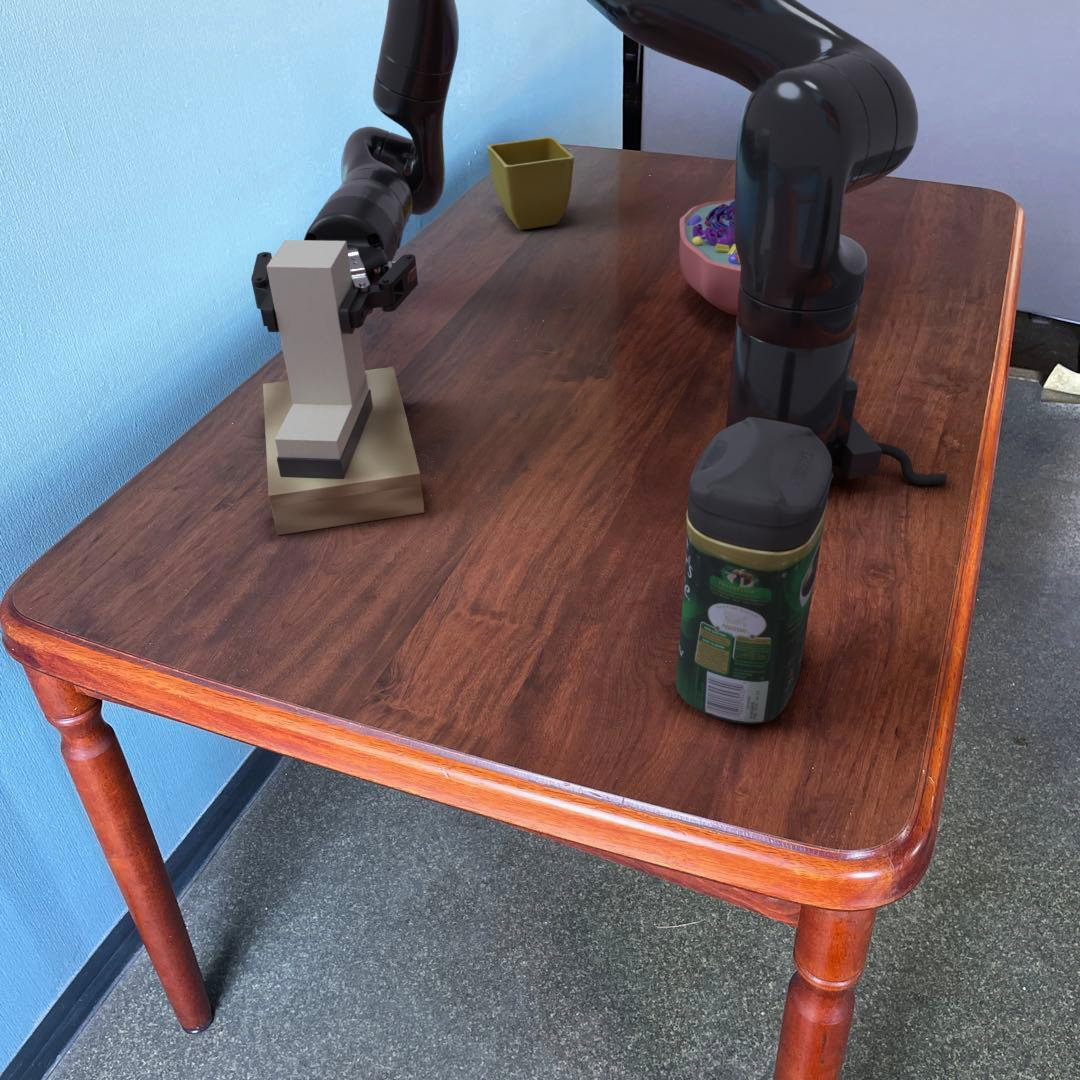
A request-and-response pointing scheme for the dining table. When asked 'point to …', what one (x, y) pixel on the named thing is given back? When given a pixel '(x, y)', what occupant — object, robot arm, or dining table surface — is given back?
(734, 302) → the cell model
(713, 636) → the coffee jar
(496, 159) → the flower pot
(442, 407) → the dining table surface
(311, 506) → the tan flat block
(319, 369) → the boot
